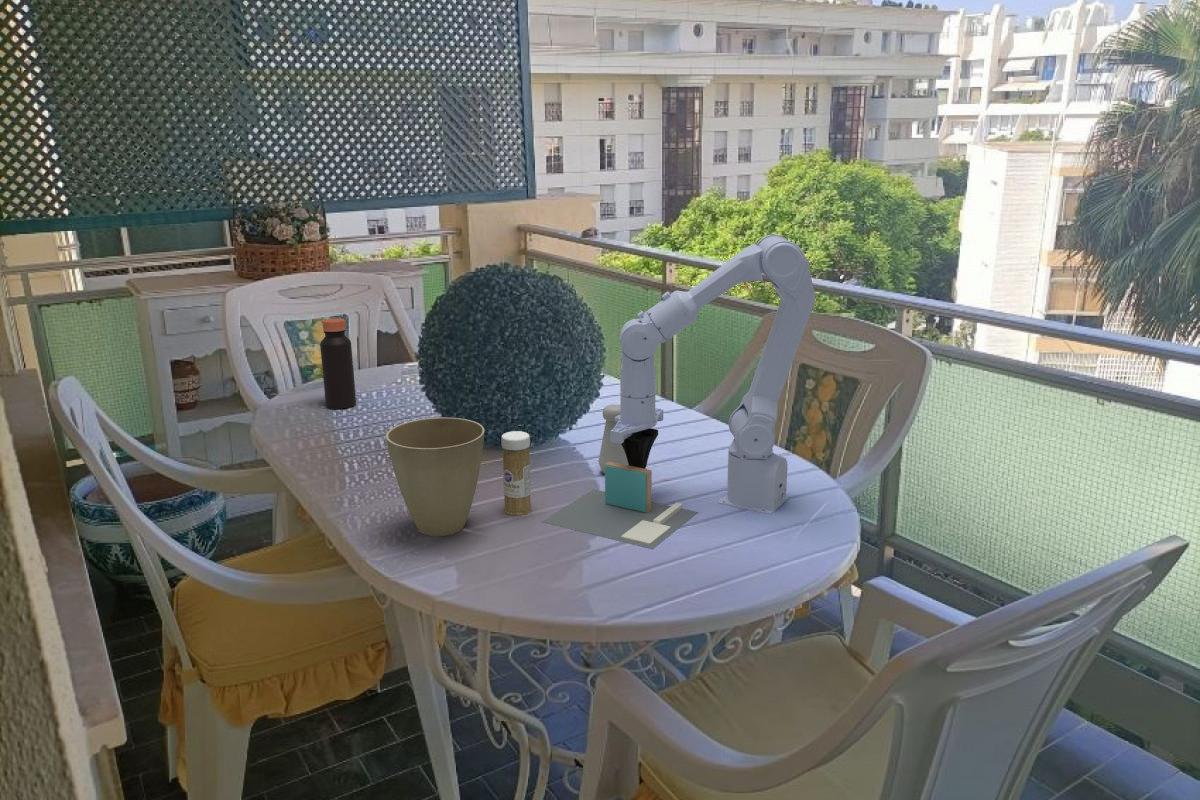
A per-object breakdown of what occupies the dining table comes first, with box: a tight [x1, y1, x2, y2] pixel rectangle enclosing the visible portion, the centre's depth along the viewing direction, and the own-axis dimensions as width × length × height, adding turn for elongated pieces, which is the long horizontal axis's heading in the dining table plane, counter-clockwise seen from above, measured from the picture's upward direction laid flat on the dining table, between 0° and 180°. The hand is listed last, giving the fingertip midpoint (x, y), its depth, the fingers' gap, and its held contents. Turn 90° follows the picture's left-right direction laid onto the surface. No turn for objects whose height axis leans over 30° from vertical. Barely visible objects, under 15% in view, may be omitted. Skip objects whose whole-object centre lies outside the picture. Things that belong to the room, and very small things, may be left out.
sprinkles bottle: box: [501, 430, 532, 516], centre depth 148 cm, size 5×5×14 cm
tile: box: [604, 462, 653, 513], centre depth 149 cm, size 8×2×7 cm, turn 59°
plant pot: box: [385, 417, 485, 537], centre depth 142 cm, size 15×15×16 cm
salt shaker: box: [598, 403, 629, 475], centre depth 164 cm, size 6×6×13 cm
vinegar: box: [319, 317, 357, 410], centre depth 207 cm, size 7×7×20 cm
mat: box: [541, 489, 699, 550], centre depth 147 cm, size 20×16×1 cm
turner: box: [621, 502, 684, 545], centre depth 144 cm, size 15×5×1 cm, turn 149°
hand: (637, 472), depth 152 cm, fingers closed
